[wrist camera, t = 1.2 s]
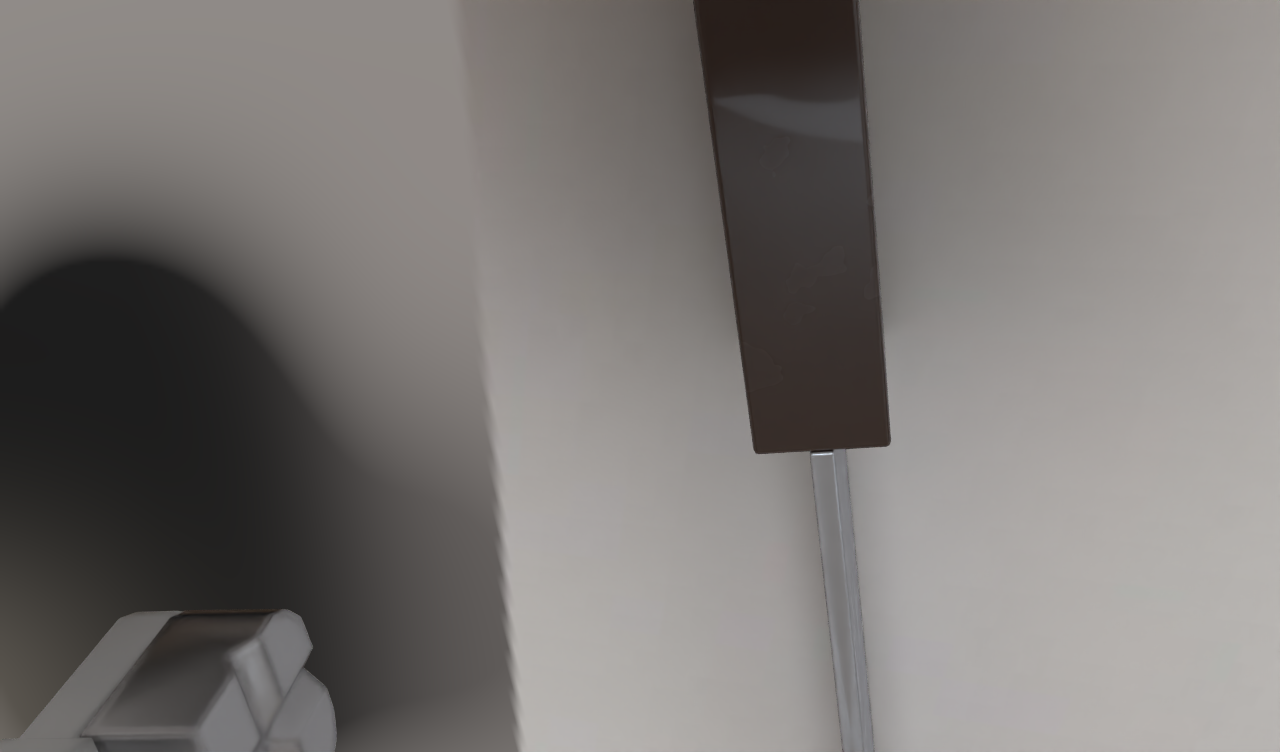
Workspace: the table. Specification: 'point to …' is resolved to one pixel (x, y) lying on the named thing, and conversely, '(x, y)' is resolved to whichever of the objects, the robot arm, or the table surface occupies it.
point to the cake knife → (804, 268)
